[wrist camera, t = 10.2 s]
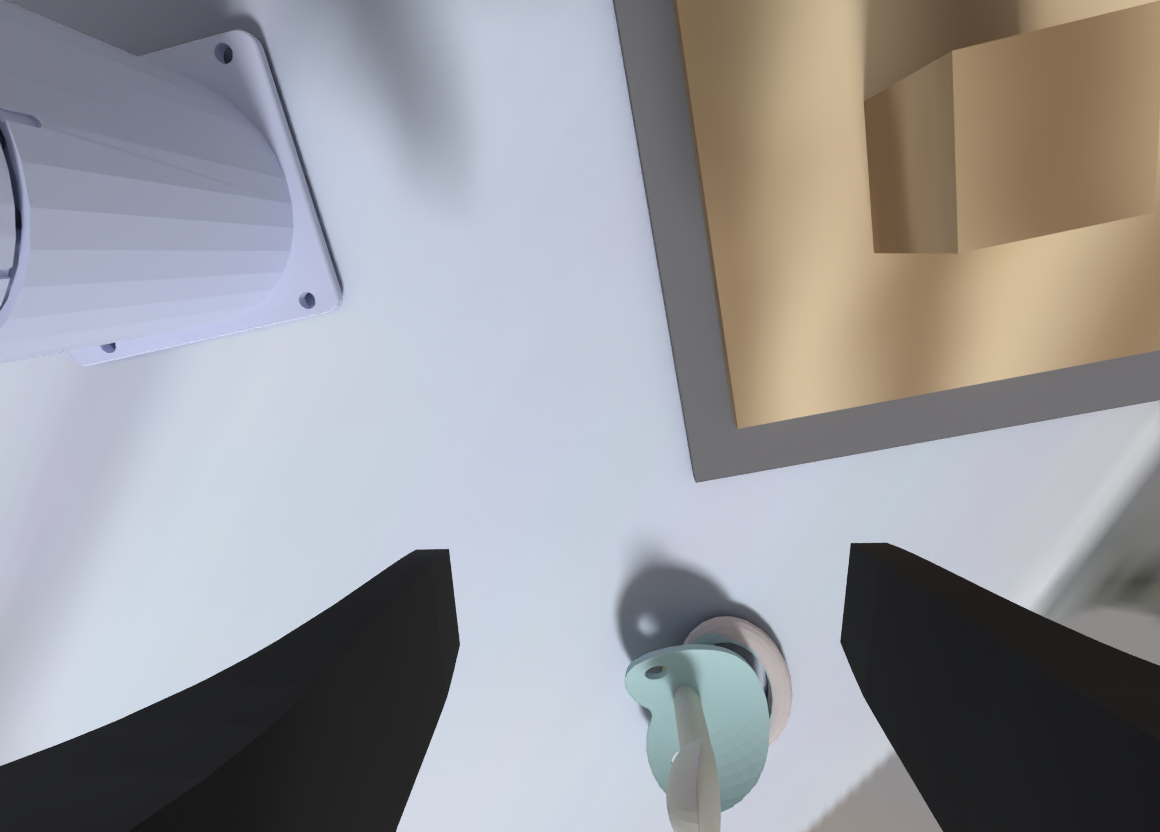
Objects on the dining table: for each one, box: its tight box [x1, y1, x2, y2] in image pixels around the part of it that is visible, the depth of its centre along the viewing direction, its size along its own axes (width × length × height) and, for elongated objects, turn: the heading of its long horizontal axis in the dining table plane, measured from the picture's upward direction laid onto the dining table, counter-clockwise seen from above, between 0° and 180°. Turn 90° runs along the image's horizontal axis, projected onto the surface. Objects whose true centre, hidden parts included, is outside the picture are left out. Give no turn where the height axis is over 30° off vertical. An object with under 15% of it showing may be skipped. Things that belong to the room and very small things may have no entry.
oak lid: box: [672, 0, 1160, 429], centre depth 14 cm, size 13×13×5 cm
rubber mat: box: [613, 0, 1160, 483], centre depth 16 cm, size 16×16×1 cm
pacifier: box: [625, 616, 792, 832], centre depth 19 cm, size 7×6×6 cm
